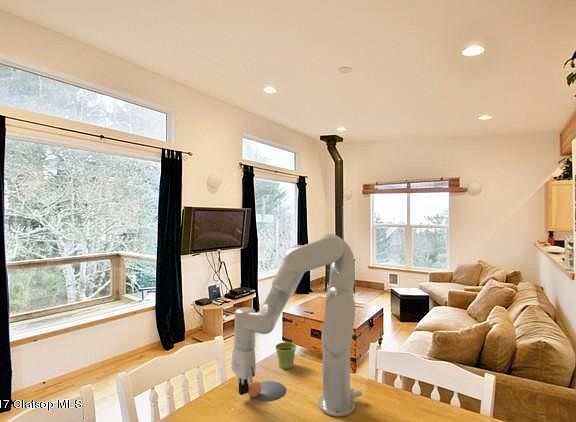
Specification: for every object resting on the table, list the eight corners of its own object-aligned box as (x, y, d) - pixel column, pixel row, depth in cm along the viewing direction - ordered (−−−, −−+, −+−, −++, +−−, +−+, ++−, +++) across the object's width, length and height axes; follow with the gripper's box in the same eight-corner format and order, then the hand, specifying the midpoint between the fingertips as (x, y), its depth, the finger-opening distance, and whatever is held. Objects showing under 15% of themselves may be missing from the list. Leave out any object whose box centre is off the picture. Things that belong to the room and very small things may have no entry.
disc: (277, 378, 135) (277, 378, 135) (291, 395, 123) (291, 394, 123) (246, 386, 130) (246, 385, 130) (258, 404, 118) (258, 403, 118)
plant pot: (270, 367, 145) (270, 347, 145) (283, 359, 153) (283, 340, 152) (288, 373, 139) (288, 352, 139) (300, 364, 147) (300, 345, 147)
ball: (247, 398, 124) (259, 390, 127) (254, 400, 119) (266, 391, 123) (241, 384, 124) (253, 376, 128) (248, 386, 120) (260, 377, 123)
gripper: (225, 338, 124) (224, 386, 125) (245, 353, 112) (244, 407, 113) (243, 334, 129) (242, 381, 129) (264, 348, 117) (263, 399, 117)
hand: (243, 393), depth 121 cm, fingers closed
